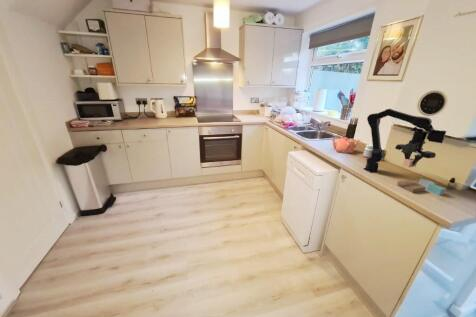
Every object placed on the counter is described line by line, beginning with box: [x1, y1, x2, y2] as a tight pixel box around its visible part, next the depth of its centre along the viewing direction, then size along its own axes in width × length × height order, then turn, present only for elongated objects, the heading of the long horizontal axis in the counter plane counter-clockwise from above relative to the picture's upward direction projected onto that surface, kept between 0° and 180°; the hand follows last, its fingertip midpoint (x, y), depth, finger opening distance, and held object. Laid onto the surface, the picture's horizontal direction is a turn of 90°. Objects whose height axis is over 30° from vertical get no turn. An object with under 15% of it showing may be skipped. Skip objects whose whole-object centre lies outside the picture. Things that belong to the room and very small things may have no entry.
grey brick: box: [418, 178, 437, 190], centre depth 119 cm, size 6×4×4 cm, turn 16°
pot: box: [330, 135, 361, 154], centre depth 178 cm, size 18×17×12 cm
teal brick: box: [426, 183, 447, 196], centre depth 113 cm, size 6×4×4 cm, turn 16°
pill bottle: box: [362, 143, 373, 160], centre depth 161 cm, size 6×6×11 cm
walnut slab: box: [396, 179, 426, 194], centre depth 117 cm, size 9×9×3 cm
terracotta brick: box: [402, 157, 418, 168], centre depth 123 cm, size 6×4×4 cm, turn 107°
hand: (409, 164), depth 123 cm, fingers closed on terracotta brick, 3 cm apart
